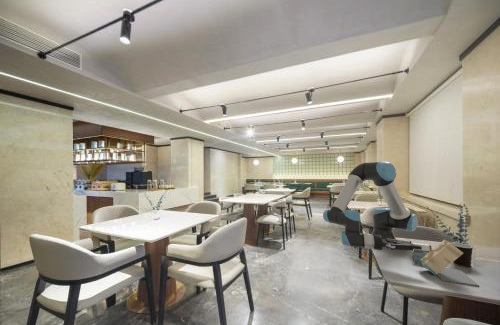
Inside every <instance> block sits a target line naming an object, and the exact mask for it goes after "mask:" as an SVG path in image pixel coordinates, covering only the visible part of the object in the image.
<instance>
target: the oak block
mask: <svg viewBox="0 0 500 325" xmlns="http://www.w3.org/2000/svg"><path fill="white" fill-rule="evenodd" d="M451 243H452V242H449V241H448V240H447V239H443V240H442V241H440V242H439V244H437V245H436V246H435V247H433V248H432V250H431V251H430V252H429V253H428V254H426V255H425V256H424V257H423V258H422V259H420V260H419V261H420V262H421V264H420V265H422V266H423V267H425V269H426V270H428V271H429V272H430V273H432V274H433V275H434V276H438V275H437V274H438V273H439V272H441V271H442V270H443V269H445V268H447V267H448V266H450V265H451V264H452V263H454V262H453V261H455V260H456V259H457V258H458V257H460V256H461V255H462V254H463V252H462V251H460V250H459V249H458V248H456V247H455V246H454V245H452V244H451Z"/></svg>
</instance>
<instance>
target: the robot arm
mask: <svg viewBox="0 0 500 325" xmlns="http://www.w3.org/2000/svg"><path fill="white" fill-rule="evenodd" d="M396 177H397V169H396V168H395V165H394V164H393V163H392V162H390V161H383V160H382V161H374V162H371V161H370V162H362V163H360V164H358V165H357V166H356V167H354V168H353V169H351V171H350V172H349V174H348V175H347V180H346V181H345V184H344V186H343V187H342V189H341V190H340V192H339V194H338V196H337V198H336V199H335V200H334V202H333V204H332V206H331V208H330V209H326V210H324V211H323V212H322V218H323V220H324V222H326V223H330V224H333V225H339V226H343V227H344V230H342V231H341V244H342V245H344V246H348V247H354V248H363V249H366V250H369V249H370V250H372V249H374V250H377V251H383V247H385V248H386V249H390V250H392V251H393V250H395V251H396V250H398V251H399V250H400V251H412V252H414V249H415V250H423V251H430V248H429V245H430V244H425V243H418V242H417V243H415V242H412V240H402V239H396V236H395V233H394V231H393V229H395V230H396V229H397V230H401V231H405V232H414V231H415V230H416V229H417V227H418V224H419V222H418V221H419V220H418V219H419V218H418V215H417V214H416V213H411V210H410V209H409V208H407V207H406V206H405V204H404V202H403V200H402V198H401V195H400V193H399V191H398V189H397V187H396V185H395V183H394V182H395V179H396ZM365 181H372V182H373V184H374V186H377V187H378V188H379V190H380V192H381V195H382V196H383V198H384V200H385V202H386V204H387V206H388V207H386V208H385V207H384V208H383V207H382V208H375V209H373V212H372V217H373V229H372V232H371V233H364V232H361V217H360V212H359V211H358V210H355V209H354V210H353V209H347V207H348V206H349V204H350V202H351V200H352V199H353V197H354V195H355V193H356V191H357V190H358V189H359V187H360V185H363V183H364V182H365Z"/></svg>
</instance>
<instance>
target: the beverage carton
mask: <svg viewBox="0 0 500 325" xmlns="http://www.w3.org/2000/svg"><path fill="white" fill-rule="evenodd" d="M428 245H429V248H430V251H431V250H432V249H433V248H432V245H430V244H428ZM430 251H423V250H415V249H413V251H412V252H413V253H412V254H413V256H412V257H413V262H414V263H415V264H419V265H422V264H421V262H420V261H419V260H420V259H422V258H423V257H424V256H425V255H426V254H428V253H429V252H430Z"/></svg>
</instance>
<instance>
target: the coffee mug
mask: <svg viewBox="0 0 500 325" xmlns="http://www.w3.org/2000/svg"><path fill="white" fill-rule="evenodd" d="M450 243H451V244H452V245H454V246H455V247H456V248H458V249H459V250H460V251H462V252H463V254H462V255H461V256H460V257H458V258H457V259H456V260H455V261H453V262H452V263H453V264H454V265H456V266H459V267H463V268H471V266H472V256H473V249H474V248H473V246H472V245H469V244H465V243H461V242H450Z"/></svg>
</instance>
